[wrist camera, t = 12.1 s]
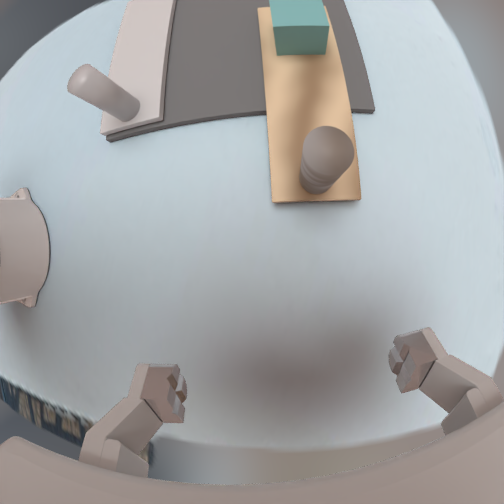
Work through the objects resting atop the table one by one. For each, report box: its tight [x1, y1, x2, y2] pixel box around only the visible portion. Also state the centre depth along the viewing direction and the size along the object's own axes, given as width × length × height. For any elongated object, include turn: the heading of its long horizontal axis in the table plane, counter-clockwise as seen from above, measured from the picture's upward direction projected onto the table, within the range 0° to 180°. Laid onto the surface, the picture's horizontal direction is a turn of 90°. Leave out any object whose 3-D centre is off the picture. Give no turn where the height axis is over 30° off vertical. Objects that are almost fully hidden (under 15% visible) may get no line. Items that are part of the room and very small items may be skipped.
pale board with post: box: [67, 0, 176, 136], centre depth 21 cm, size 8×24×10 cm, turn 3°
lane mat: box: [106, 0, 375, 142], centre depth 25 cm, size 30×25×1 cm
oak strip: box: [257, 6, 361, 203], centre depth 19 cm, size 8×24×10 cm, turn 3°
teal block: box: [269, 0, 330, 56], centre depth 20 cm, size 5×5×5 cm
